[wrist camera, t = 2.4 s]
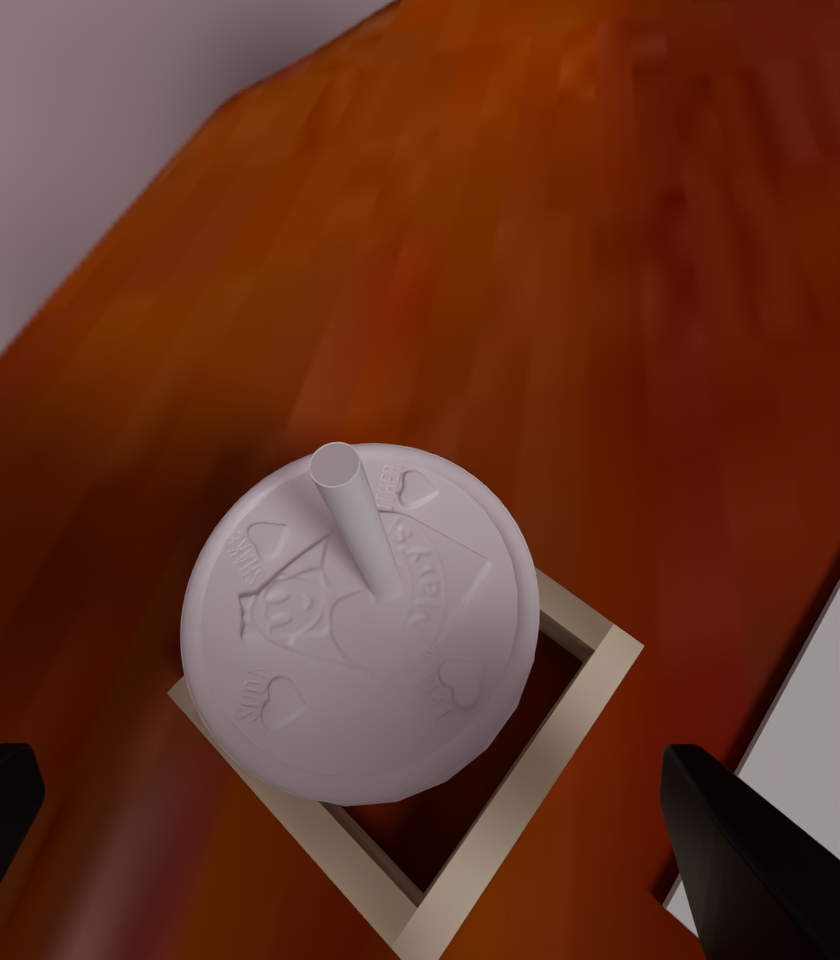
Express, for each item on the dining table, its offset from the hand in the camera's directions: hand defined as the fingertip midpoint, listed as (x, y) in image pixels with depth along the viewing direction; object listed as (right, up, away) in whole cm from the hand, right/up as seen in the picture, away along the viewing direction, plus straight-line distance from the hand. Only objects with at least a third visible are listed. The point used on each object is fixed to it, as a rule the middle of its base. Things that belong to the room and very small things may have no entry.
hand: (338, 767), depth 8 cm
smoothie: (+1, -3, +10) cm, 11 cm away
